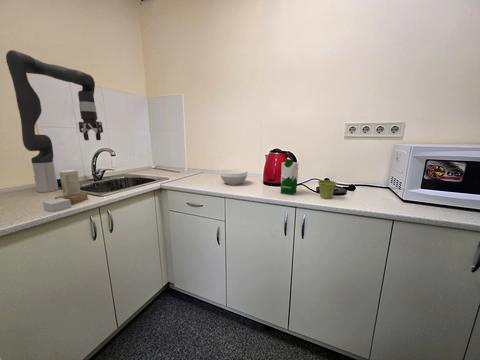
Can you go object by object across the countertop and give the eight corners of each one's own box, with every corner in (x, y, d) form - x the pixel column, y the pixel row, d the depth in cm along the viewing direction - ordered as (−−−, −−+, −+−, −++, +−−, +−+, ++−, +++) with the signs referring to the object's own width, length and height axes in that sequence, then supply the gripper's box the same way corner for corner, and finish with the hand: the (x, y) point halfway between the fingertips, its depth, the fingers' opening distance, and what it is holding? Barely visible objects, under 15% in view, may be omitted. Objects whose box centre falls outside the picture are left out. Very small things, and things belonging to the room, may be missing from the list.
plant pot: (328, 201, 106) (329, 184, 104) (313, 196, 114) (314, 181, 112) (339, 198, 111) (340, 182, 109) (323, 194, 119) (325, 179, 117)
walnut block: (56, 205, 100) (54, 197, 100) (71, 199, 109) (70, 192, 108) (73, 205, 100) (72, 197, 99) (88, 199, 109) (86, 192, 108)
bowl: (236, 188, 132) (235, 174, 131) (214, 183, 144) (214, 171, 142) (252, 182, 147) (252, 170, 145) (231, 179, 158) (231, 168, 156)
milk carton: (278, 193, 120) (280, 159, 115) (283, 190, 127) (285, 157, 123) (293, 196, 115) (295, 160, 111) (298, 192, 123) (300, 158, 119)
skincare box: (77, 192, 108) (74, 169, 105) (81, 194, 106) (78, 170, 103) (62, 195, 102) (58, 170, 100) (65, 196, 100) (62, 172, 98)
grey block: (44, 210, 93) (42, 202, 92) (62, 205, 99) (61, 197, 98) (53, 212, 90) (51, 204, 89) (71, 207, 97) (70, 199, 96)
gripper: (104, 111, 118) (108, 140, 121) (84, 112, 121) (88, 140, 125) (92, 109, 111) (96, 140, 114) (71, 110, 114) (76, 140, 118)
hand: (92, 140), depth 120 cm, fingers open, 8 cm apart
